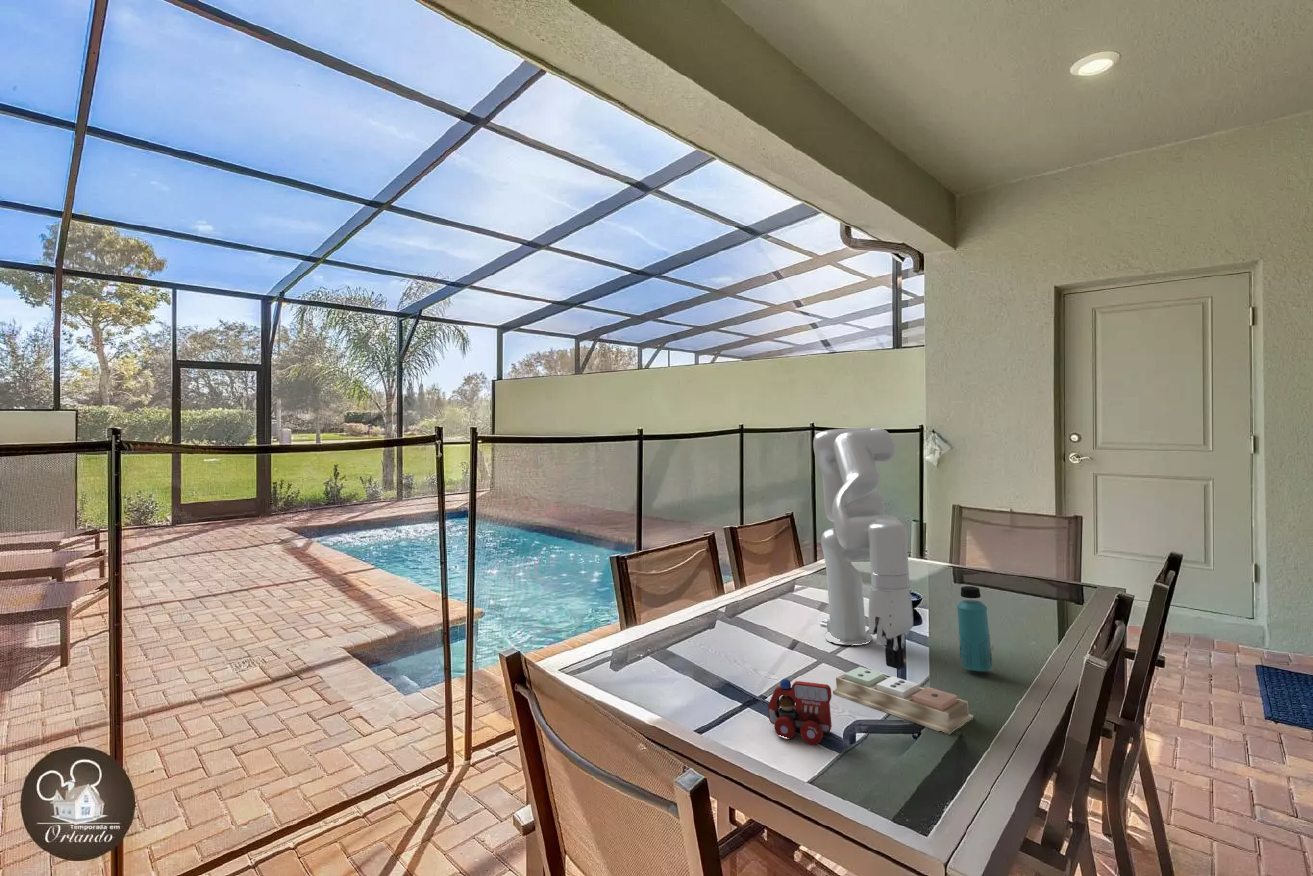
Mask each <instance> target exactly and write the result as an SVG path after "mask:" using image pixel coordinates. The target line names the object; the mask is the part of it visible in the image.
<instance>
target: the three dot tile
mask: <svg viewBox="0 0 1313 876" xmlns="http://www.w3.org/2000/svg"><path fill="white" fill-rule="evenodd" d="M876 685H877V690H878V691H881V692H884V693H887V694H890V695H893V696H896V697H899V698H902V699H905V698H907V697H909V696H911V695H913V694H914V693H916V692H918V691H919V687H920V684H919V683H917V682H913V681H910V680H906V679H903V678H899V677H896V676H890V677H888V679H886V680H884V681H882V682H880V683H878V684H876Z"/></svg>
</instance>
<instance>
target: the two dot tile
mask: <svg viewBox="0 0 1313 876" xmlns="http://www.w3.org/2000/svg"><path fill="white" fill-rule="evenodd" d="M843 675H844V679H845V680H847V681H850V682H853V683H856V684H860V685H863V686H866V687H871V686H873V685H875V684H877V683H879V682H881V681H883V680H884V676H885V673H883V672H879V671H876V670H872V669H869V668H866V667H864V666H863V667H862V666H858V667H857V668H854V669H852V670H849V671H847V672H845V673H844V674H843Z"/></svg>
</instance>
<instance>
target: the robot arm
mask: <svg viewBox="0 0 1313 876" xmlns="http://www.w3.org/2000/svg"><path fill="white" fill-rule="evenodd" d="M812 444H813V447H812V448H813V452H814V456H815V459H816V462H817V463H818V466H819V468H820V471H821V475H822V487H823V488H822V490H823V505H824V513H825V516H826V519H827V520H828V521H830V522H832V523H833V526H834V527H832V528H831V527H830V528H828V529H826V530H825V531H824V532H823V533H822V534H821V538H820V543H821V549H822V553H823V557H824V563H825V570H826V571H825V572H826V583H827V597H828V599H827V600H828V612H829V614H828V615H829V618H825V617H824V618H822V619H821V622H820V623H819V625H820V627H821V628H826V633H827V632H830V633H831V635H832V636H833V637H835V638H837V639H840V641H839V642H842V643H847V644H862V643H866V642H869V641H871V640H872V641H873V636H874V635H876V640H875V643H876V644H877V645H879V646H880V645H881V646H883V648H884V649H885V651H884V653H885V655H884V656H885V665H886V666H887V667H891V668H893V669H897V670H901V669H903V668H904V667H905V660H904V648H905V640H906V637H907V636H908V635H909V633H910V631H911V630H912V629H913V627H914V610H913V602H912V596H911V594H912V593H911V590H910V587H911V586H910V572H909V570H910V569H909V555H908V554H909V552H908V550H909V549H908V537H907V536H908V535H907V534H908V533H907V529H906V526H905V524H903V523H902V522H901V521H900V519H898V518H897V517H896V516H894V515H889V514H888V515H887V514H885V504H884V500H883V497H882V494H881V492H880V491H879V490H878V489H877V488H878V487H879V485H880V483H881V478H880V474H879V471H878V468H877V465H876V463H888V462H890V461H892V460H893V458H894V456H895V452H896V447H895V446H896V445H895V442H894V438H893V437H892V435H891V434H890V433H889V432H888V431H887V430H886V429H883V428H879V427H856V428H855V427H854V428H837V429H836V428H835V429H826V430H823V431H820V432H818V433H816V434H815V436H814V437H813V442H812ZM857 561H869V564H870V580H871V581H870V582H871V583H870V584H871V587H870V591H869V597H868V631H866V619H865V618H866V617H865V616H866V615H865V603H864V601H865V600H864V588H863V587H864V586H863V577H862V574H861V573H860V572H859V570H858V569H857V568H856V567H855V566H854V565H853V564H852V562H857ZM866 633H868V634H866ZM872 641H871V642H872Z"/></svg>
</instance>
